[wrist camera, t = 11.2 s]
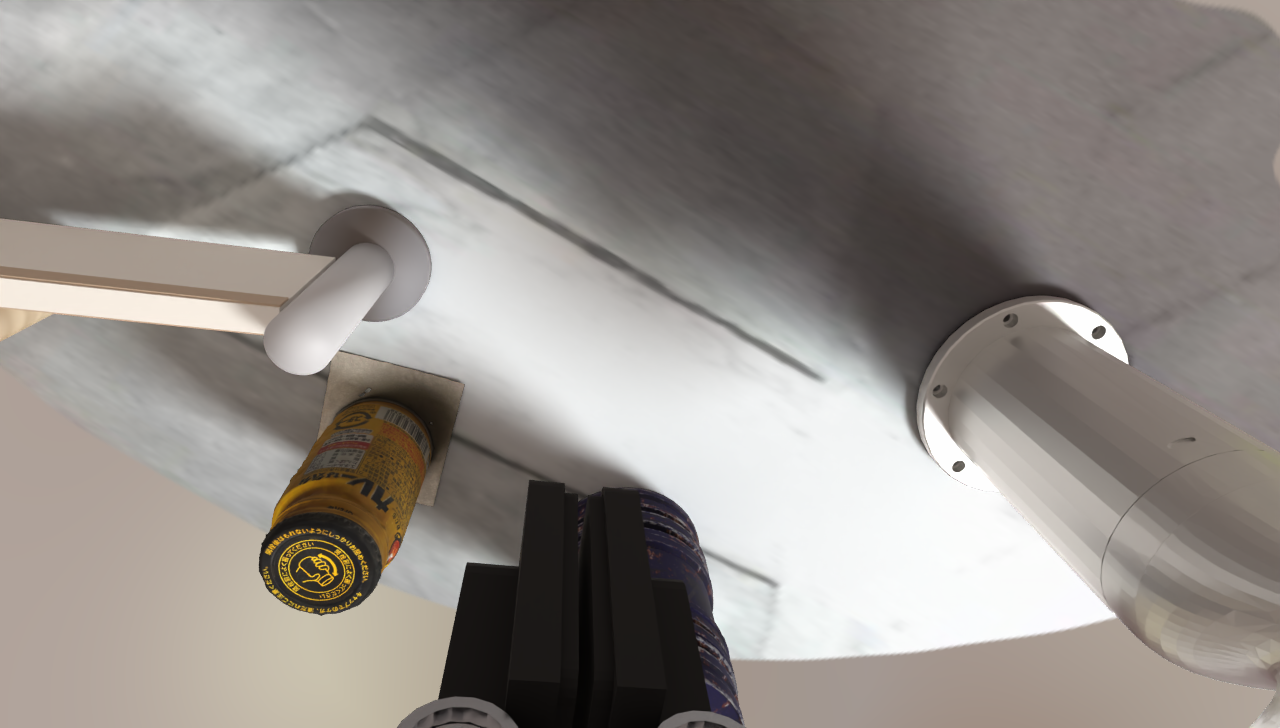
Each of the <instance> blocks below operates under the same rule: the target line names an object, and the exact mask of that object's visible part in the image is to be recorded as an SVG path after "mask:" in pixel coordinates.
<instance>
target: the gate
mask: <svg viewBox="0 0 1280 728" xmlns="http://www.w3.org/2000/svg"><path fill="white" fill-rule="evenodd" d="M393 276H394V263H393V260H392V258H391V257H390V255H389V254H388V253H387V252H386V251H385V250H384V249H383V248H381V247H380V246H378V245H376V244H372V243H359V244H356V245H354V246H352V247H351V248H350V249H349V250H347V251H346V252H345V253H344V254H343V255H342V256H341V257H340V258H339V259H338V260H337V261H336V262H335V257H328V256H319V255H310V254H302V253H293V252H285V251H276V250H267V249H259V248H250V247H242V246H233V245H224V244H216V243H207V242H199V241H190V240H181V239H173V238H164V237H156V236H147V235H139V234H130V233H121V232H113V231H104V230H96V229H87V228H78V227H70V226H61V225H53V224H44V223H35V222H27V221H18V220H10V219H1V218H0V308H3V309H13V310H23V311H32V312H42V313H52V314H61V315H71V316H81V317H91V318H100V319H110V320H120V321H129V322H139V323H149V324H158V325H168V326H178V327H188V328H197V329H207V330H217V331H226V332H236V333H246V334H256V335H264V336H263V343H264V348H265V351H266V353H267V355H268V357H269V358H270V359H271V361H272V362H273V363H274V364H275V365H277V366H278V367H279V368H281V369H282V370H284V371H286V372H289V373H292V374H296V375H310V374H314V373H317V372H319V371H321V370H322V369H324V368H325V367H326V366H327V365H328V363H329V362H330V361H331V359H332V358H333V357H334V356H335V354H336V353H337V352H338V350H339V349H340V348H341V346H342V345H343V344H344V342H345V341H346V340H347V339H348V337H349V336H350V335H351V333H352V332H353V331H354V329H355V328H356V327H357V325H358V324H359V323H360V322H361V320H362V319H363V318H364V316H365V315H366V314H367V312H368V311H369V310H370V308H371V307H372V306H373V305H374V303H375V302H376V301H377V299H378V298H379V297H380V295H381V294H382V293H383V291H384V290H385V289H386V288H387V286H388V285H389V284H390V282H391V281H392V279H393Z"/></svg>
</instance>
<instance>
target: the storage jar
mask: <svg viewBox="0 0 1280 728" xmlns="http://www.w3.org/2000/svg"><path fill="white" fill-rule="evenodd" d="M617 489H627V490H637V491H639V496H640V503H641V510H642V517H643V524H644V531H645V538H646V545H647V552H648V559H649V567H650V574H651V577H652V578H664V579H676V580H682V581H683V582H684V583H685V586H686V590H687V594H688V599H689V604H690V609H691V614H692V619H693V624H694V629H695V634H696V639H697V644H698V649H699V653H700V658H701V663H702V668H703V673H704V678H705V683H706V688H707V693H708V698H709V703H710V708H711V712H713V713H716V714H720V715H723V716H726V717H729V718H731V719H732V720H734V721H736V722H738V723H739V724H741V725H743V726H744V721H743V717H742V713H741V710H740V707H739V702H738V697H737V696H738V695H737V694H738V691H737V685H736V680H735V676H734V672H733V668H732V664H731V662H730V656H729V650H728V647H727V644H726V642H725V639H724V637H723V636H722V634H721V632H720V630H719V628H718V626H717V625H716V623H715V622H714V618H713V613H712V611H713V590H712V585H711V580H710V578H709V573H708V568H707V564H706V560H705V557H704V554H703V552H702V549H701V547H700V546H699V540H698V536H697V532H696V530H695V527H694V524H693V523H692V521H691V519H690V518H689V516H688V515H687V514H686V513H685V511H684V510H683V509H682V508H681V507H680V506H678V505H677V504H676V503H675V502H674V501H672V500H670V499H669V498H667V497H665V496H663V495H661V494H658V493H656V492H653V491H649V490H645V489H640V488H617ZM601 492H602V491H601ZM601 492H598V493H595V494H592V495H591V496H601ZM587 498H588V497H586V498H584V499H582V500H581V501H579V502H578V555H579V548H580V542H581V536H582V529H583V523H584V516H585V510H586V504H587ZM744 727H745V726H744Z"/></svg>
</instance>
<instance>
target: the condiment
mask: <svg viewBox="0 0 1280 728" xmlns="http://www.w3.org/2000/svg"><path fill="white" fill-rule="evenodd" d="M464 385H465V384H462V383H459V382H455V381H451V380H449V379H446V378H442V377H439V376H435V375H431V374H427V373H423V372H420V371H417V370H413V369H409V368H405V367H401V366H397V365H393V364H390V363H388V362H381V361H376V360H372V359H369V358H365V357H362V356H358V355H352V354H348V353H344V352H340V351H338V352H337V353H336V354H335V356H334V357H333V358H332V361H331V366H330V373H329V377H328V382H327V389H326V393H325V398H324V404H323V410H322V416H321V421H320V427H319V432H318V437H317V441H316V442H315V444H314V445H313V447H312V449H311V451H310V453H309V455H308V456H307V458H306V460H305V461H304V462H303V464H302V466H301V467H300V468H299V469H298V471H297V473H296V474H295V475H294V476H293V477H292V478H291V480H290V484H289V485H288V487H287V488H286V490H285V491H284V493H283V494H282V496H281V498H280V500H279V501H278V503H277V505H276V507H275V510H274V514H273V518H272V527H271V529H270V532H269V533H268V534H266V538H265V540H264V541H263V543H262V547H261V553H260V557H259V572H260V574H261V576H262V577H263V580H264V582H265V585H266V588H267V589H268V590H269V592H270V593H272V594H273V595H274V596H275V597H276V598H277V599H279V600H280V601H281V602H283V603H284V604H286V605H288V606H290V607H292V608H294V609H297V610H300V611H304V612H308V613H314V614H318V615H321V616H322V615H324V614H336V613H340V612H343V611H345V610H348V609H350V608H353V607H355V606H358V605H360V604H361V603H362V602H363V601H364V600H365V599H366V598H367V597H368V596H369V595H370V594H371V593H372V592H373V590H374V589H375V587H376V586H377V583H378V581H379V579H380V577H381V573H382V572H383V570H384V568H386V567H387V566H388V565H389V564H390V562H391V561H392V560H393V559H394V557H395V556H396V554H397V552H398V550H399V548H400V546H401V543H402V541H403V537H404V535H405V532H406V529H407V526H408V523H409V520H410V518H411V515H412V512H413V509H414V507H415V503H418V504H423V505H428V506H433V504H434V501H435V497H436V493H437V489H438V485H439V481H440V477H441V474H442V470H443V466H444V462H445V458H446V454H447V450H448V447H449V443H450V439H451V435H452V431H453V427H454V424H455V419H456V416H457V412H458V408H459V404H460V400H461V396H462V392H463V388H464ZM368 388H370V389H371V391H370V392H368V393H365V390H366V389H368ZM361 393H365V395H364V396H359V395H360V394H361ZM430 422H432V423H433V425H432V424H430Z"/></svg>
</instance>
